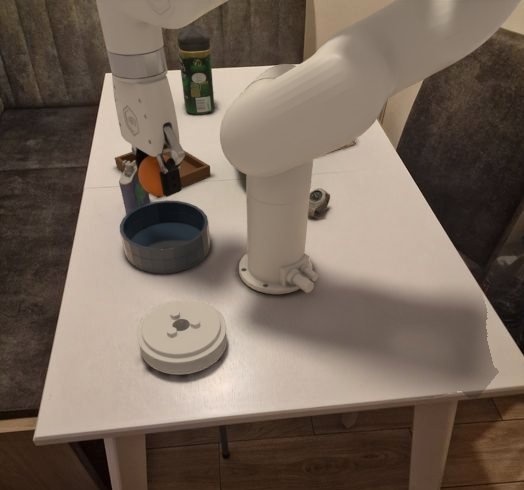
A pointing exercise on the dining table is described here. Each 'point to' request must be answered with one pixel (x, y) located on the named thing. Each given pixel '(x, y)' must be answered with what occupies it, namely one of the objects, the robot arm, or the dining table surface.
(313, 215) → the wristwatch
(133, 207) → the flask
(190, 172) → the tray
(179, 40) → the coffee jar
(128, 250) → the bowl
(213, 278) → the dining table surface
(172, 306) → the lid
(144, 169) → the mandarin
